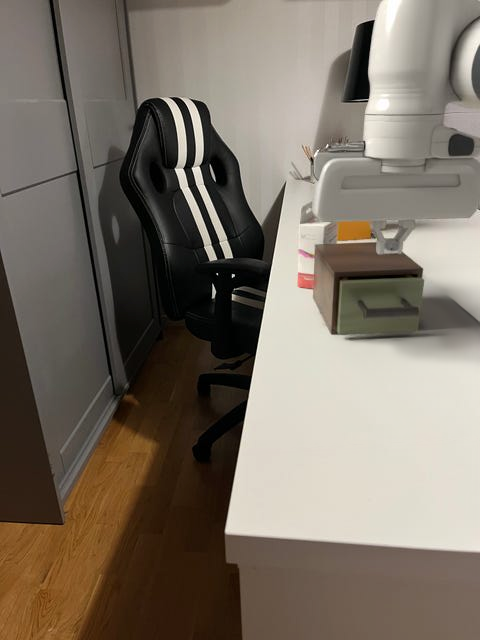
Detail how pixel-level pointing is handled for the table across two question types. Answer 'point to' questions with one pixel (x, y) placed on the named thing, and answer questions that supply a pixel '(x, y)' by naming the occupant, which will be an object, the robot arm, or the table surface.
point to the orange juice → (353, 230)
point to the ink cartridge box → (312, 243)
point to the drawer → (379, 304)
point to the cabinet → (351, 272)
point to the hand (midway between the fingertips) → (388, 253)
